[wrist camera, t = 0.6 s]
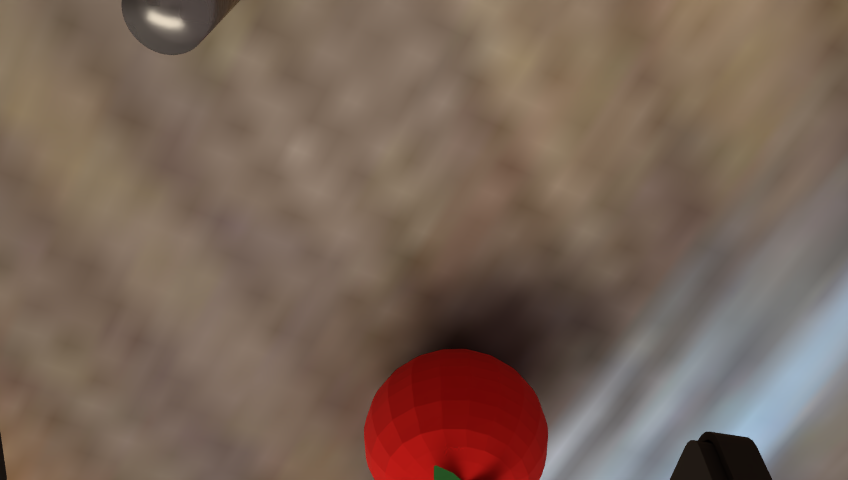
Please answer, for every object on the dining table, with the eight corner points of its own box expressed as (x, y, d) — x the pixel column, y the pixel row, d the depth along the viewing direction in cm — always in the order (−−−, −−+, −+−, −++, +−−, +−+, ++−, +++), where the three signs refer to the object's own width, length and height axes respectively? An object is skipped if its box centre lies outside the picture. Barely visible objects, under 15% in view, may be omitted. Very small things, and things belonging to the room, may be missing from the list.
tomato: (453, 283, 44) (458, 402, 35) (572, 381, 48) (604, 512, 39) (335, 384, 48) (313, 514, 39) (454, 468, 51) (458, 604, 43)
